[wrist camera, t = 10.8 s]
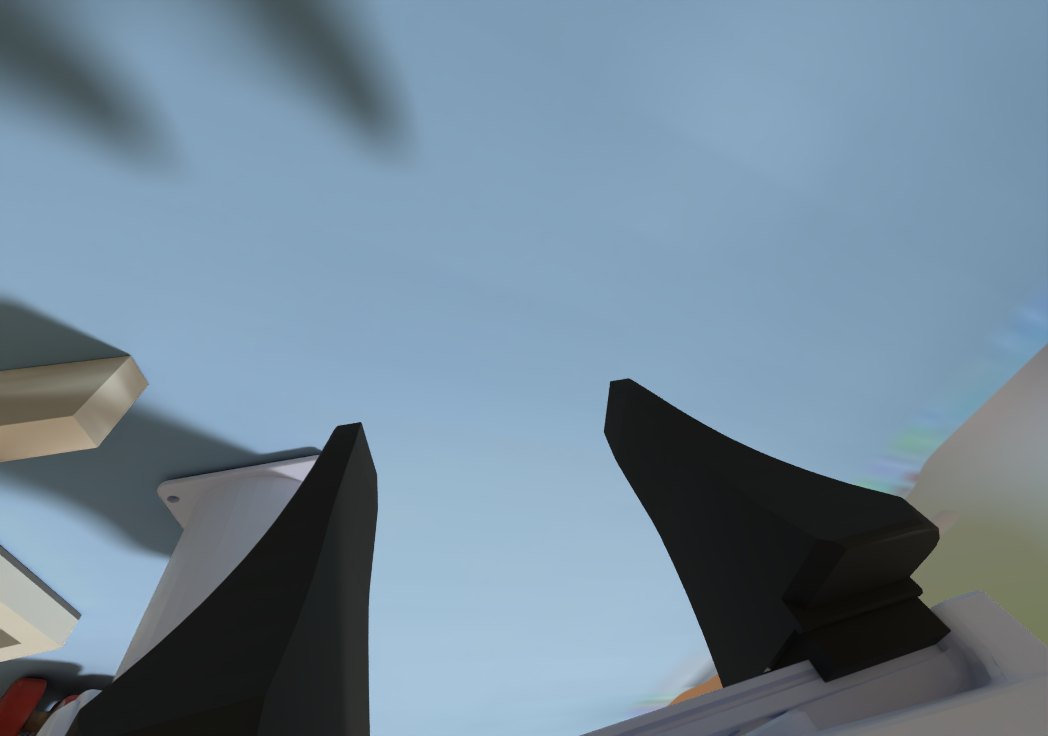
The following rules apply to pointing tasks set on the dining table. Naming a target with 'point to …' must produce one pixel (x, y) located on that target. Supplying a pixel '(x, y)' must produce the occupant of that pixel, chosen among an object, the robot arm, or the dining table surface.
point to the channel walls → (64, 405)
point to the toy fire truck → (25, 707)
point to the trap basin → (30, 612)
